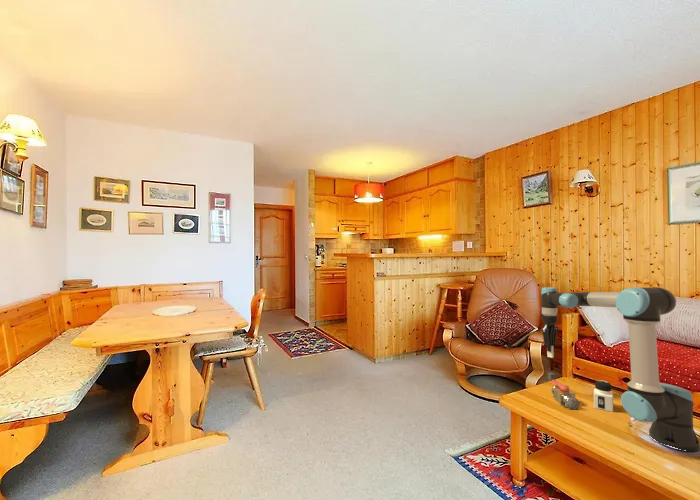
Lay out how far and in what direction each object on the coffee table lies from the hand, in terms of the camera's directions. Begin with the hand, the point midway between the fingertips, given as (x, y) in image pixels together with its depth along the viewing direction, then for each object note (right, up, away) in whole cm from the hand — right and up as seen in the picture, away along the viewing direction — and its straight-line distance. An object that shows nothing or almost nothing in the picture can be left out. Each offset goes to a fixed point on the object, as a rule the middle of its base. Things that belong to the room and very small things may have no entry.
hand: (550, 357), depth 185 cm
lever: (+1, -14, -4) cm, 15 cm away
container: (+18, -21, -16) cm, 32 cm away
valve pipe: (+1, -21, -10) cm, 23 cm away
